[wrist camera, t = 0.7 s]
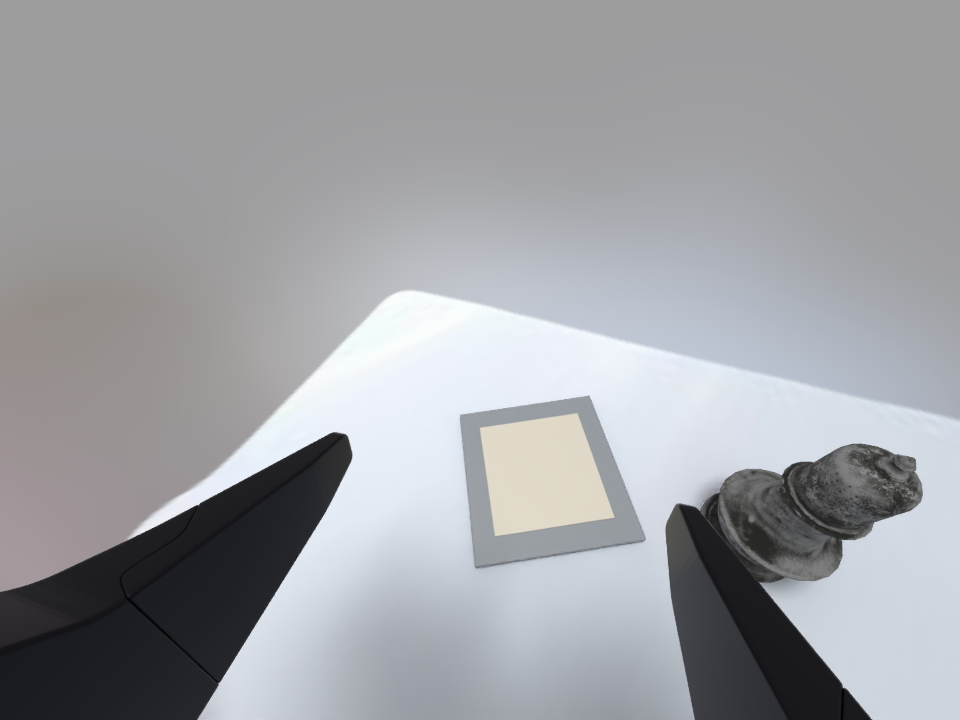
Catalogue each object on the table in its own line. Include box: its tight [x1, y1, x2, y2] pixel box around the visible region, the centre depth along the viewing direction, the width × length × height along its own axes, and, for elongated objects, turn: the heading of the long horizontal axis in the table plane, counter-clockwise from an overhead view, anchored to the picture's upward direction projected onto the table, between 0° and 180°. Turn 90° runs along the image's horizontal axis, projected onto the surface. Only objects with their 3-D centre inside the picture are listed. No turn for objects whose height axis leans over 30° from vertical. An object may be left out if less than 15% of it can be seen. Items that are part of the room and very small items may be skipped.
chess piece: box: [701, 444, 923, 582], centre depth 17 cm, size 6×6×12 cm
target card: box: [460, 396, 646, 568], centre depth 25 cm, size 11×11×1 cm
